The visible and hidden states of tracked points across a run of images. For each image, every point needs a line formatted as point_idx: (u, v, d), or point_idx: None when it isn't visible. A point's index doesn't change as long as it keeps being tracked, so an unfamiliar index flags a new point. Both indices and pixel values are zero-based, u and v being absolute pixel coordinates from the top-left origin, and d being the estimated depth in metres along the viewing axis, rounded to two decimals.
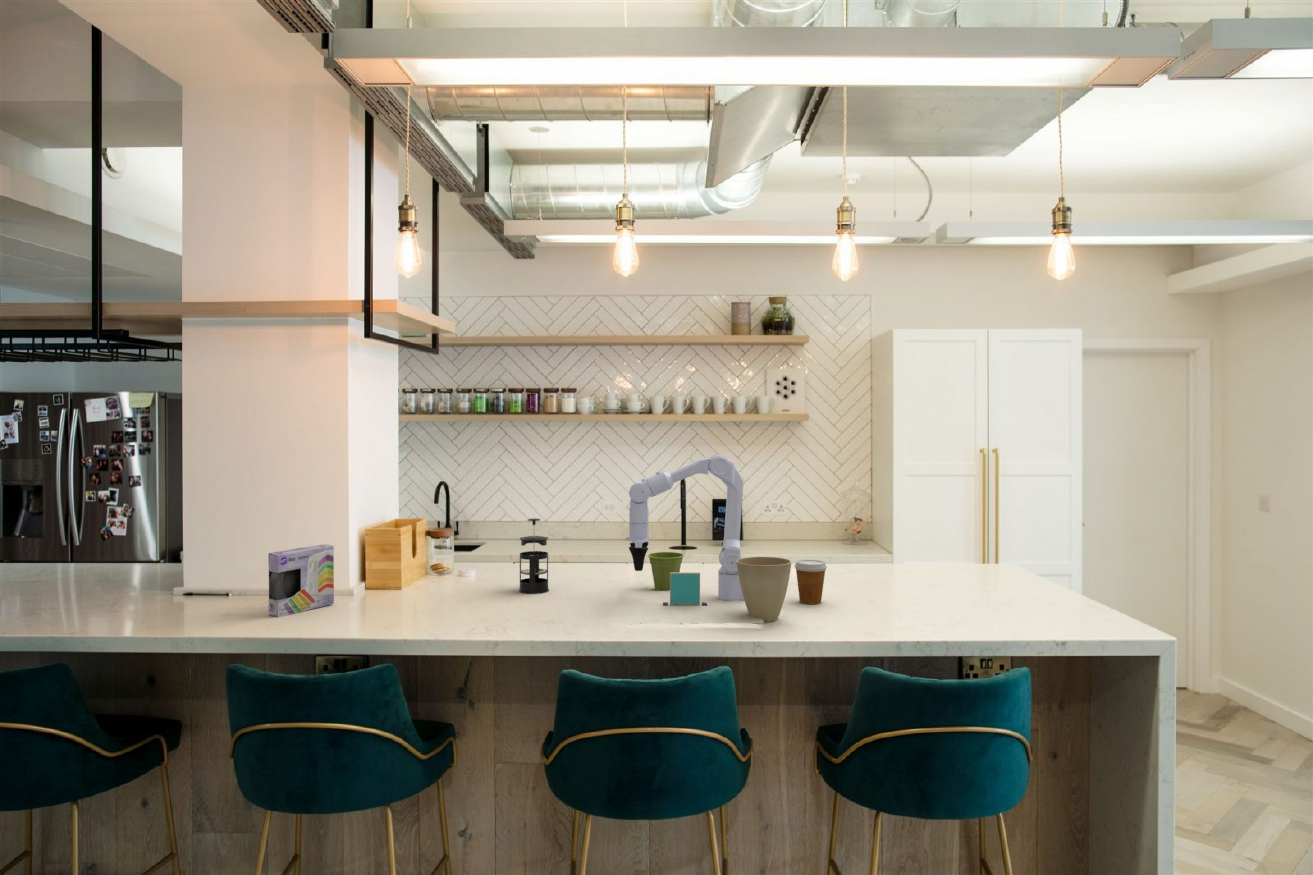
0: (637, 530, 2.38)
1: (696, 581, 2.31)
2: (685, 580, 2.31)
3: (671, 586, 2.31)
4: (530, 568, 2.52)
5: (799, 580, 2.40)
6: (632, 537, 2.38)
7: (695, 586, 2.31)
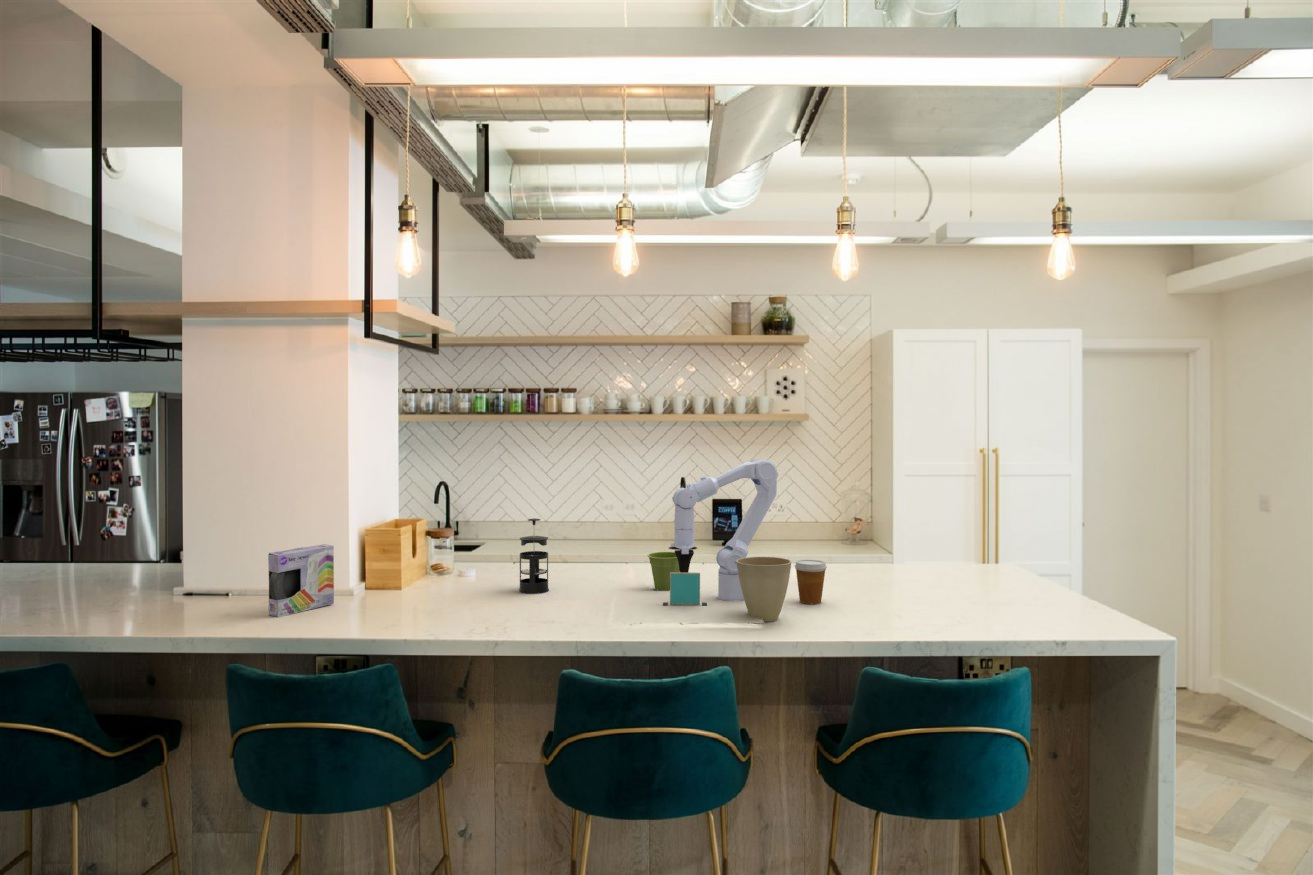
0: (683, 536, 2.35)
1: (696, 581, 2.31)
2: (685, 580, 2.31)
3: (671, 586, 2.31)
4: (530, 568, 2.52)
5: (799, 580, 2.40)
6: (678, 543, 2.36)
7: (695, 586, 2.31)
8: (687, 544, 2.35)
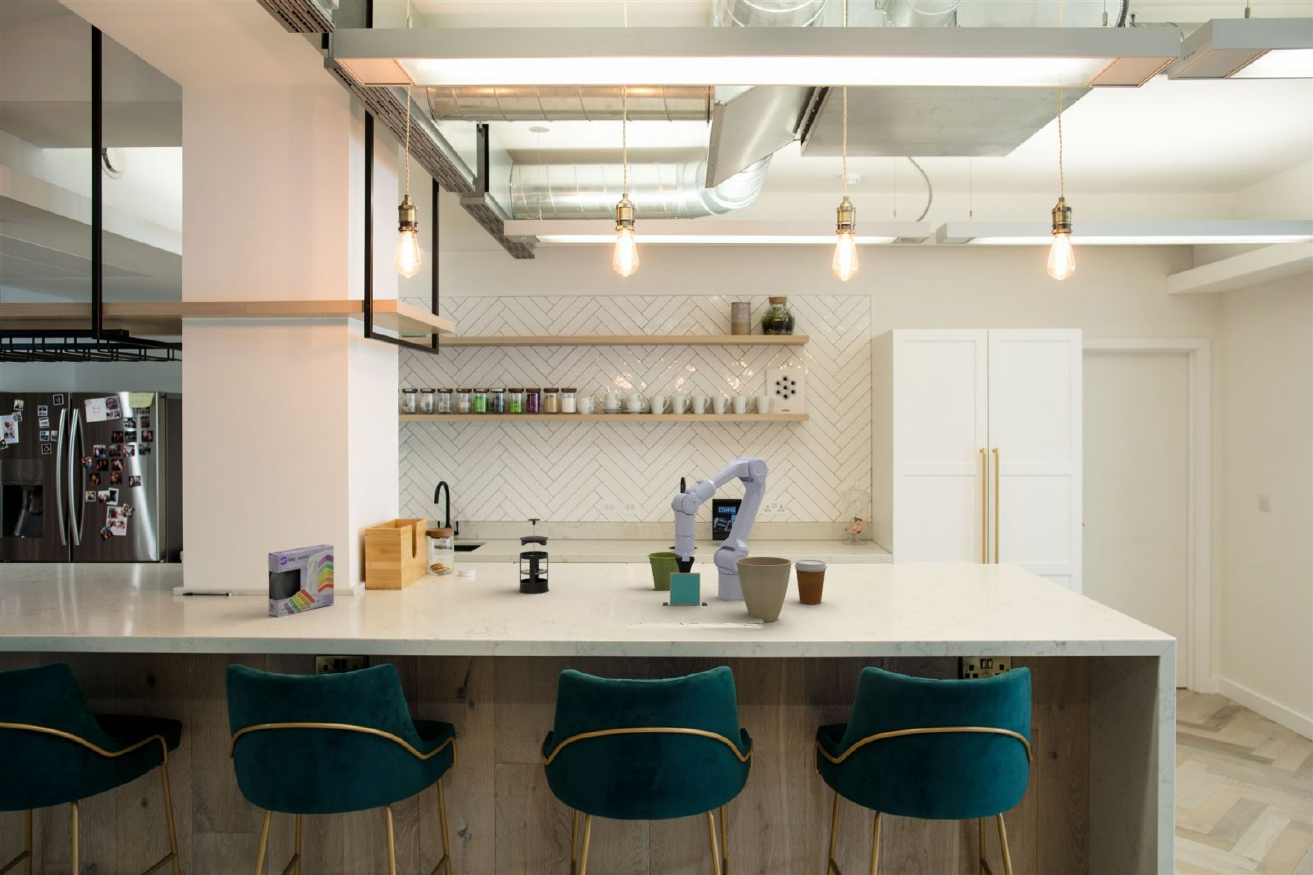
0: (684, 543, 2.30)
1: (696, 581, 2.31)
2: (685, 580, 2.31)
3: (671, 586, 2.31)
4: (530, 568, 2.52)
5: (799, 580, 2.40)
6: (678, 550, 2.31)
7: (695, 586, 2.31)
8: (688, 551, 2.30)
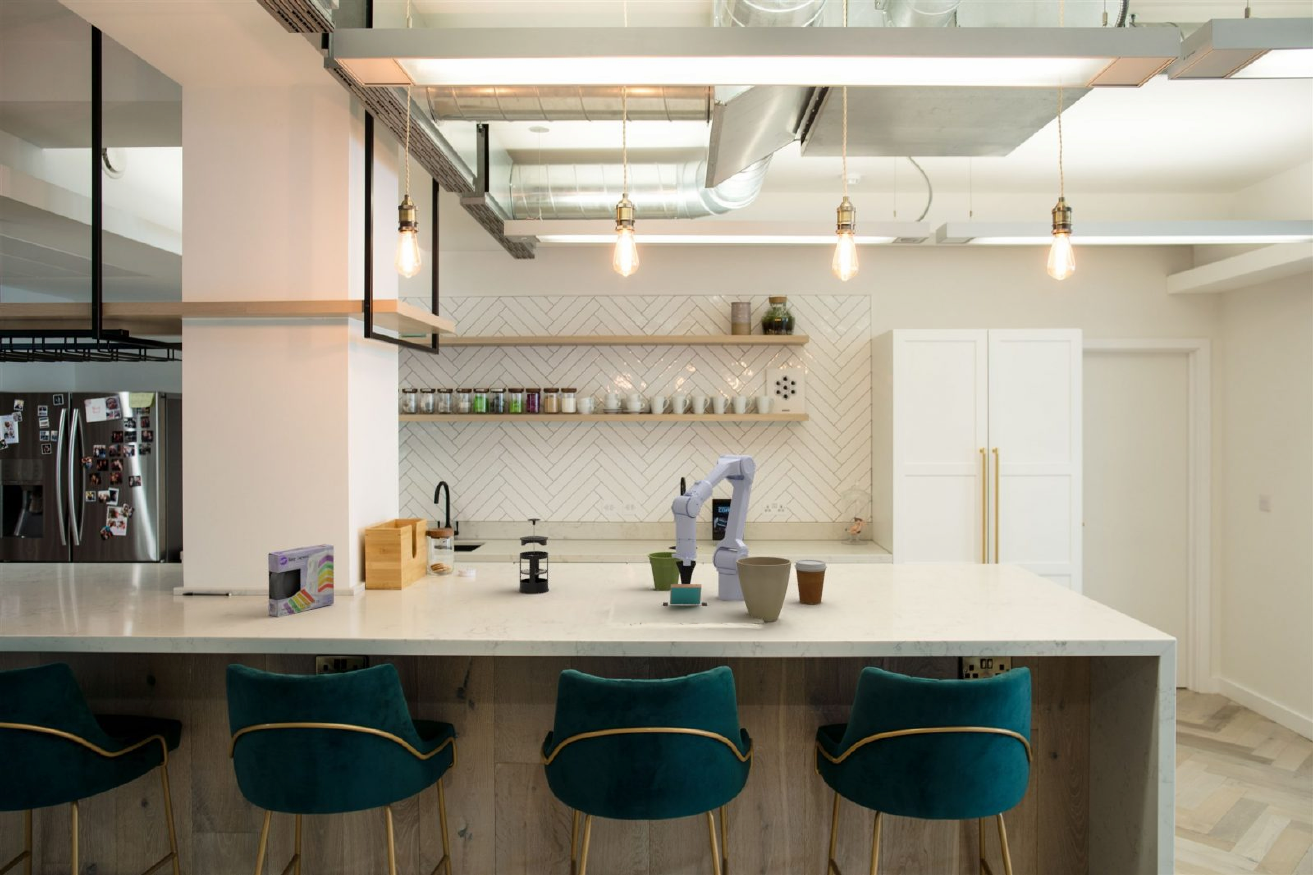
0: (685, 547, 2.23)
1: (697, 592, 2.26)
2: (686, 591, 2.26)
3: (671, 595, 2.27)
4: (530, 568, 2.52)
5: (799, 580, 2.40)
6: (679, 554, 2.24)
7: (696, 595, 2.27)
8: (689, 555, 2.24)
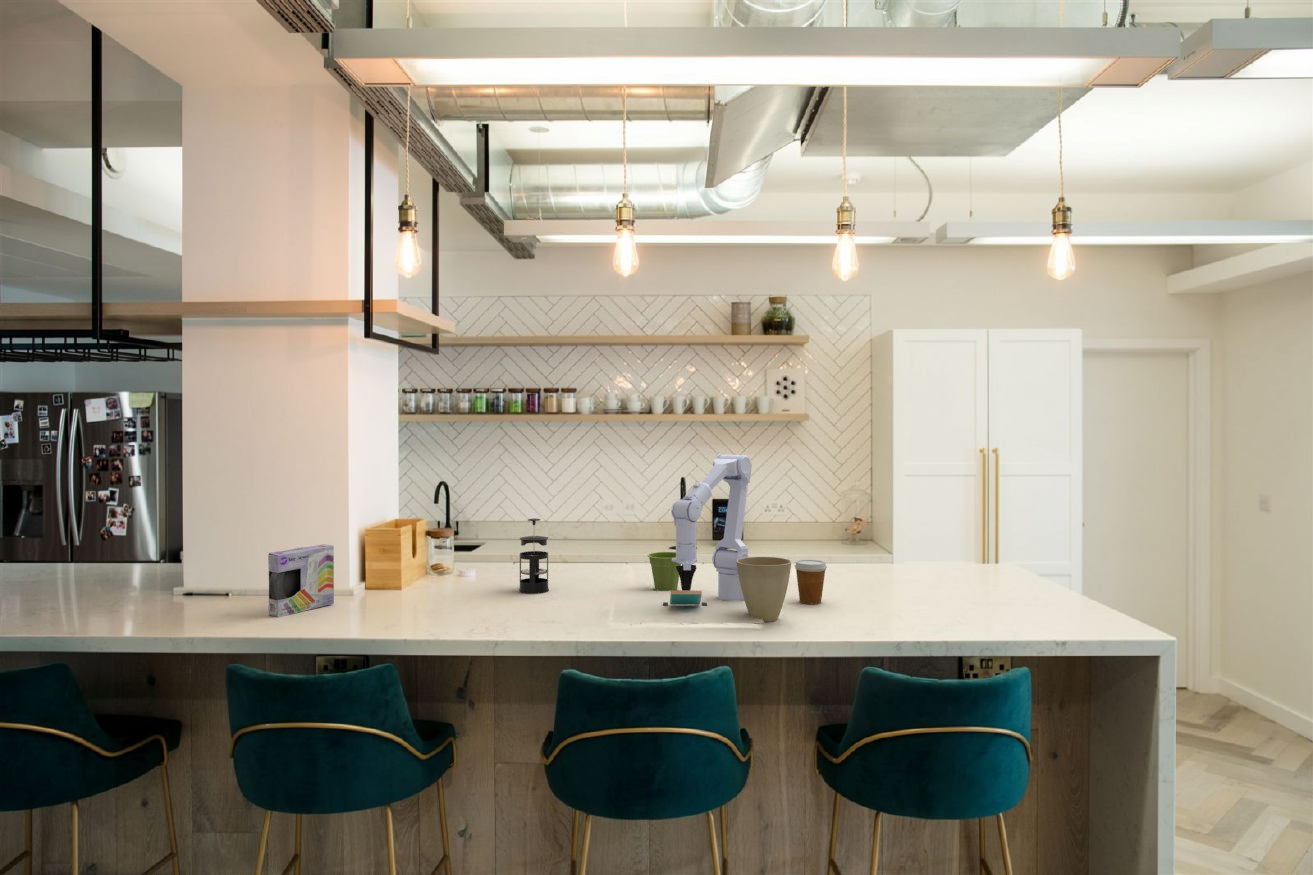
0: (685, 551, 2.22)
1: (697, 597, 2.25)
2: (686, 597, 2.25)
3: (671, 599, 2.26)
4: (530, 568, 2.52)
5: (799, 580, 2.40)
6: (679, 558, 2.22)
7: (696, 599, 2.26)
8: (689, 559, 2.22)
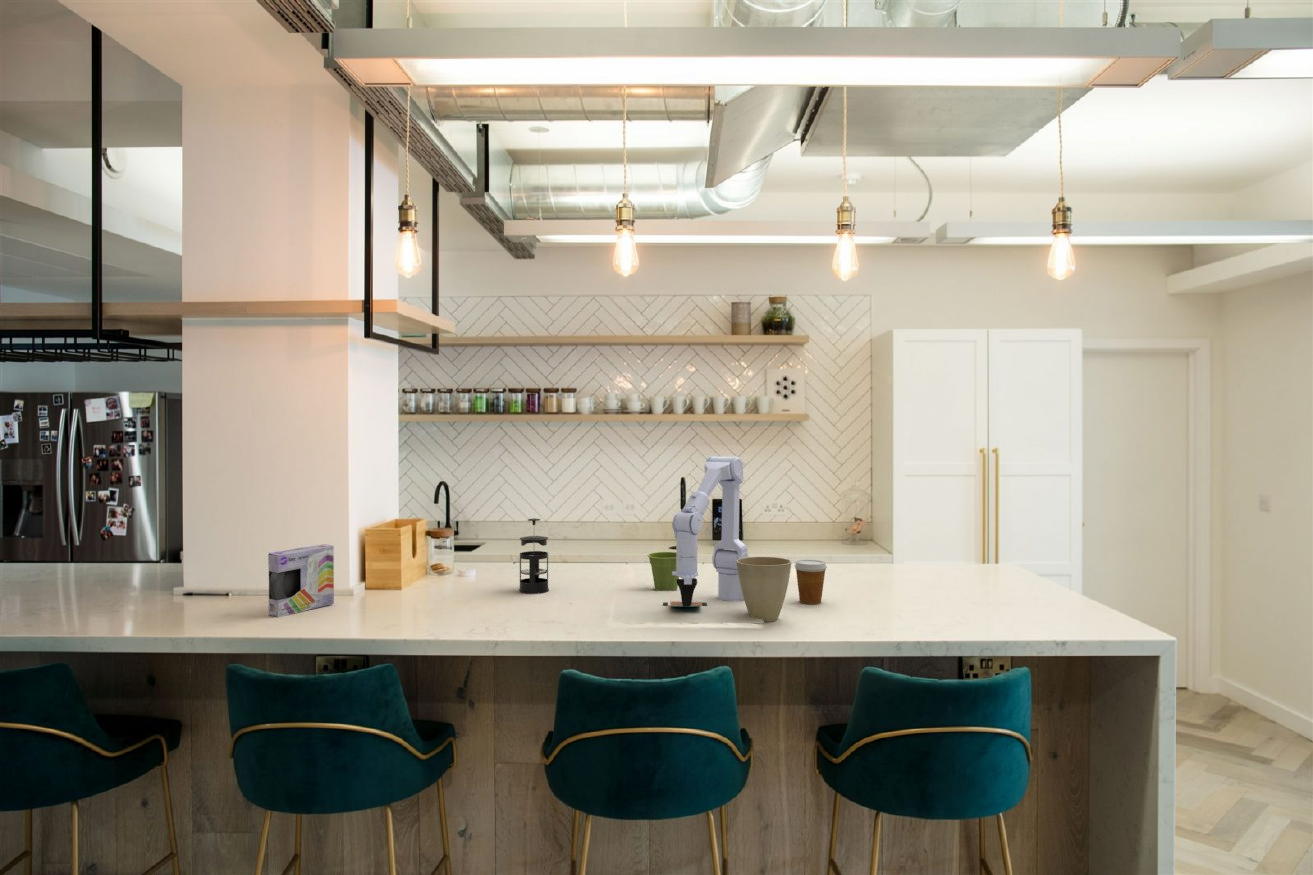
0: (686, 565, 2.17)
1: None
2: None
3: None
4: (530, 568, 2.52)
5: (799, 580, 2.40)
6: (680, 572, 2.18)
7: None
8: (690, 573, 2.17)
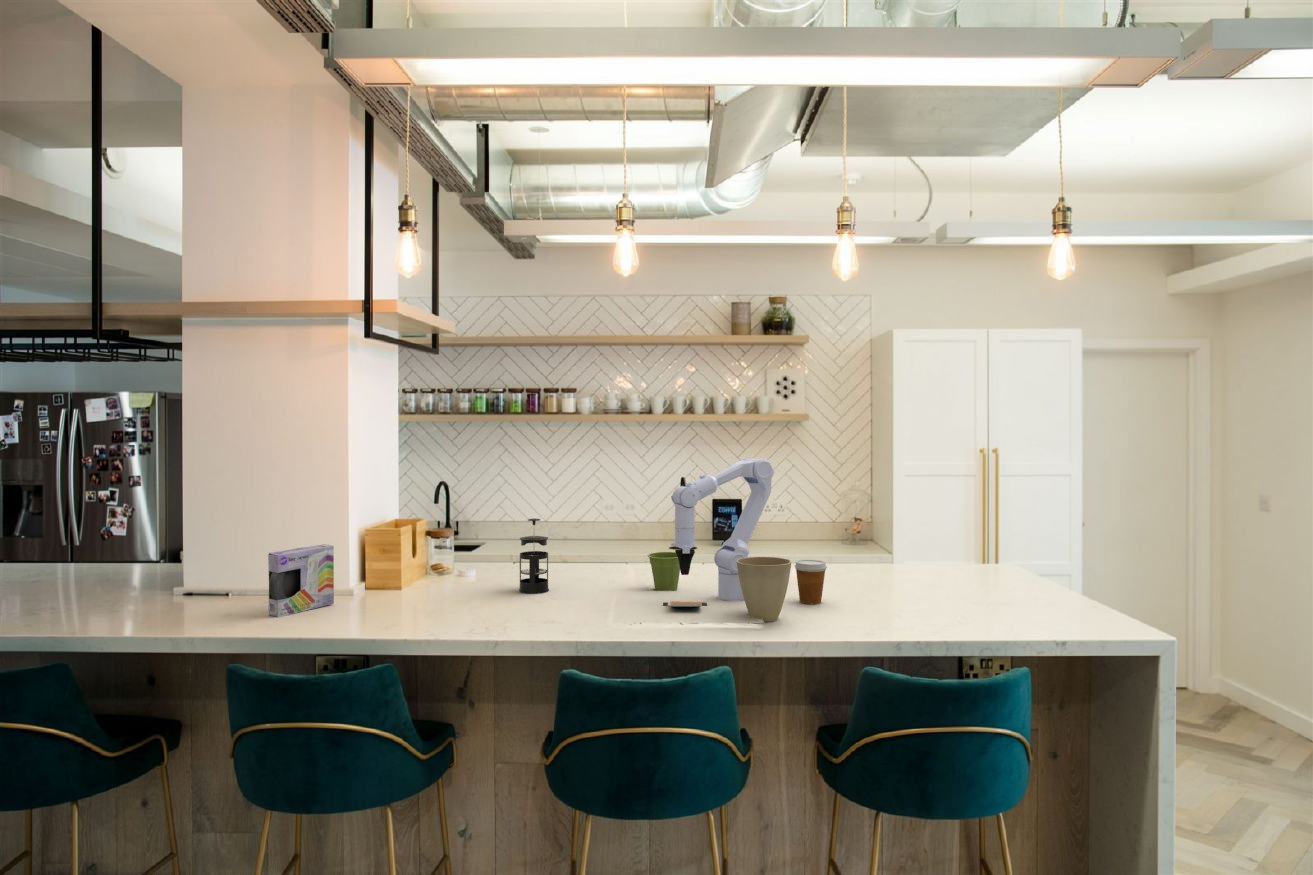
0: (684, 536, 2.32)
1: None
2: None
3: None
4: (530, 568, 2.52)
5: (799, 580, 2.40)
6: (678, 542, 2.32)
7: None
8: (688, 543, 2.32)
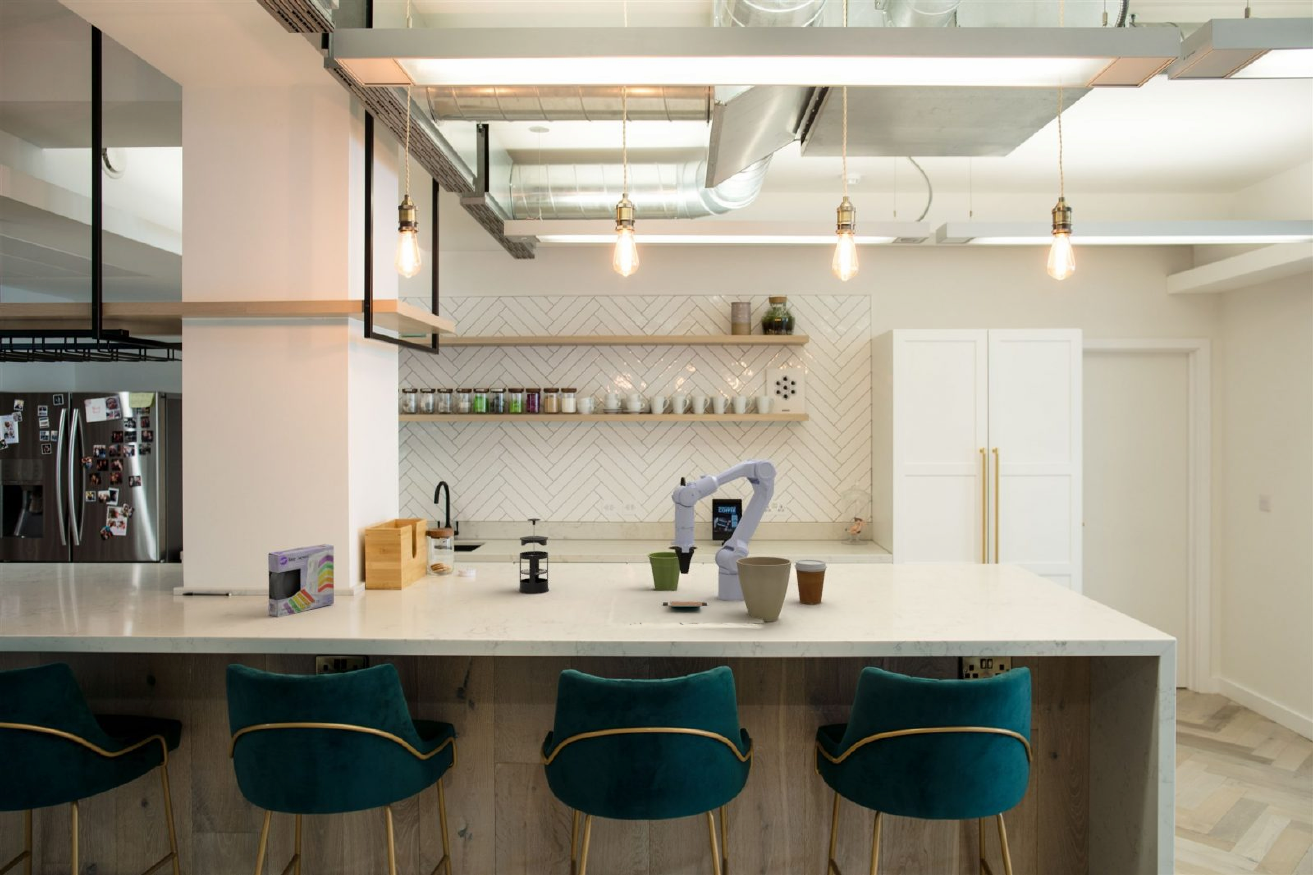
0: (684, 535, 2.33)
1: None
2: None
3: None
4: (530, 568, 2.52)
5: (799, 580, 2.40)
6: (678, 541, 2.34)
7: None
8: (687, 542, 2.33)
